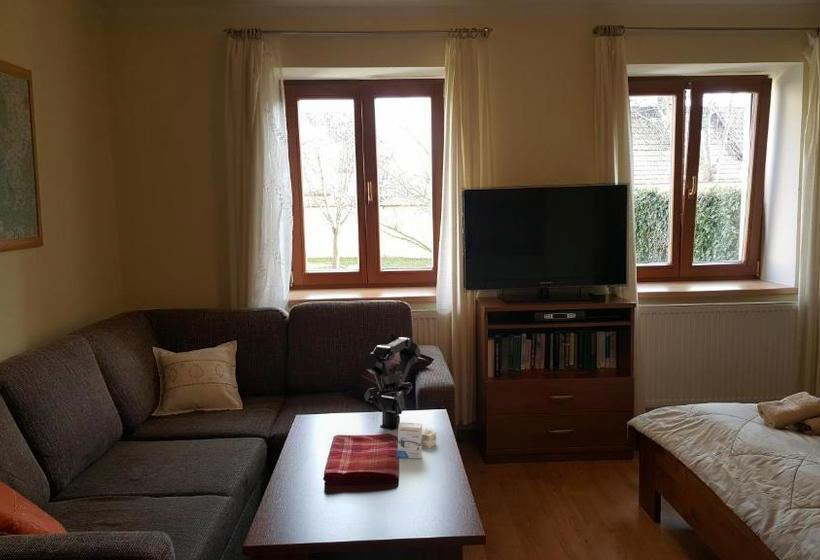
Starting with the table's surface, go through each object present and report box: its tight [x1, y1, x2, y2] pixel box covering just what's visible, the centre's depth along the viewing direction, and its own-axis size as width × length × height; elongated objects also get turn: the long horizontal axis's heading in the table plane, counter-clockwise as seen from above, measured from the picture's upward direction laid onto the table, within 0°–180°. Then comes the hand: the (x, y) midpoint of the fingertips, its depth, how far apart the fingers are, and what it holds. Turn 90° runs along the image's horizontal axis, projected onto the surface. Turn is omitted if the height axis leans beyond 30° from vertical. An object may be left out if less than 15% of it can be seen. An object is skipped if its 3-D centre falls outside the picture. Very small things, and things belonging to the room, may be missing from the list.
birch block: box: [421, 429, 437, 449], centre depth 241 cm, size 5×5×5 cm
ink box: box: [397, 421, 423, 459], centre depth 230 cm, size 9×5×12 cm, turn 84°
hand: (396, 411), depth 239 cm, fingers open, 8 cm apart
